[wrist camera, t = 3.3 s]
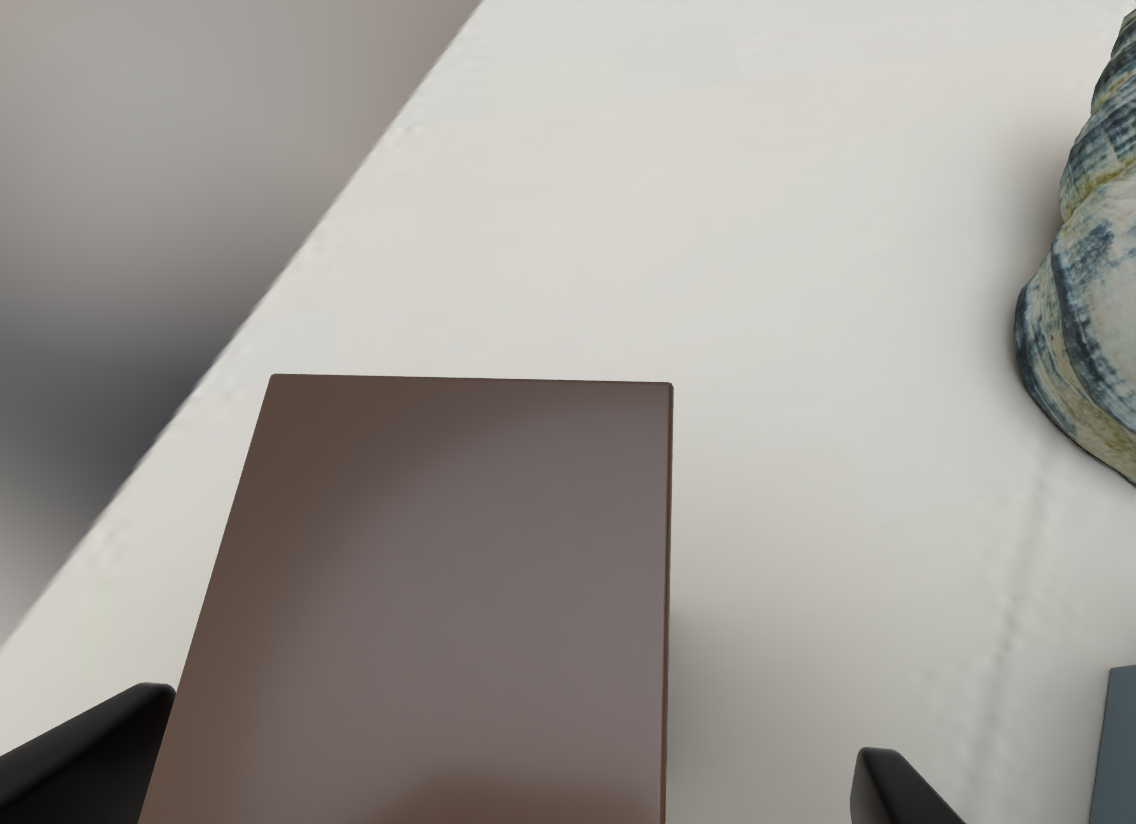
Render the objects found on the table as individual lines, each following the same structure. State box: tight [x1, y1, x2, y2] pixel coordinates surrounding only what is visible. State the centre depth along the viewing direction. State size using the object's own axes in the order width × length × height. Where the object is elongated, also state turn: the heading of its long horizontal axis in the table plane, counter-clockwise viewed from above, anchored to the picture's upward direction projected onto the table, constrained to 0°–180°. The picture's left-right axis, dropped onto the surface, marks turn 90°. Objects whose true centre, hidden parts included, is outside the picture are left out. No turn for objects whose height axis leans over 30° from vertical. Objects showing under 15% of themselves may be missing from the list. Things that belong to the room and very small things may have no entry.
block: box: [138, 374, 674, 824], centre depth 12 cm, size 4×4×12 cm
